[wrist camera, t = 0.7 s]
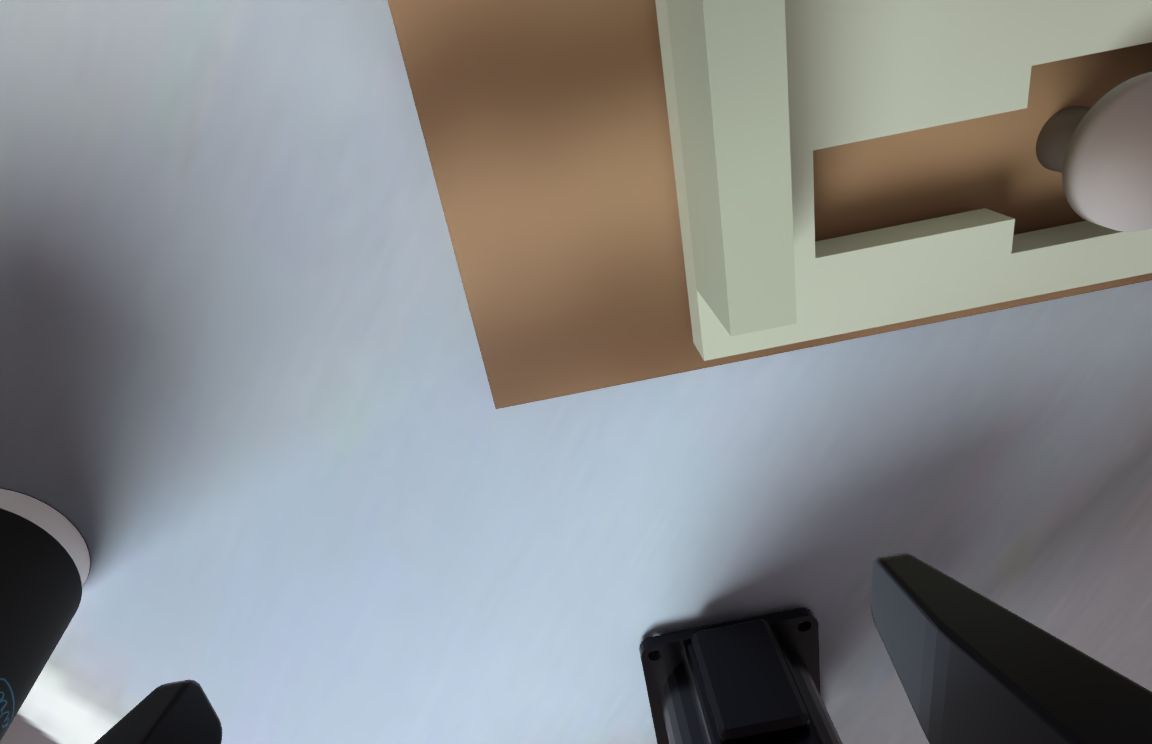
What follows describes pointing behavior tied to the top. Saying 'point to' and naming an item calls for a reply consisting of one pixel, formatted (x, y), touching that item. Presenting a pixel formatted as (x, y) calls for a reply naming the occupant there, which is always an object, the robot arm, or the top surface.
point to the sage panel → (850, 114)
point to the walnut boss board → (648, 189)
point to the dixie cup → (34, 592)
